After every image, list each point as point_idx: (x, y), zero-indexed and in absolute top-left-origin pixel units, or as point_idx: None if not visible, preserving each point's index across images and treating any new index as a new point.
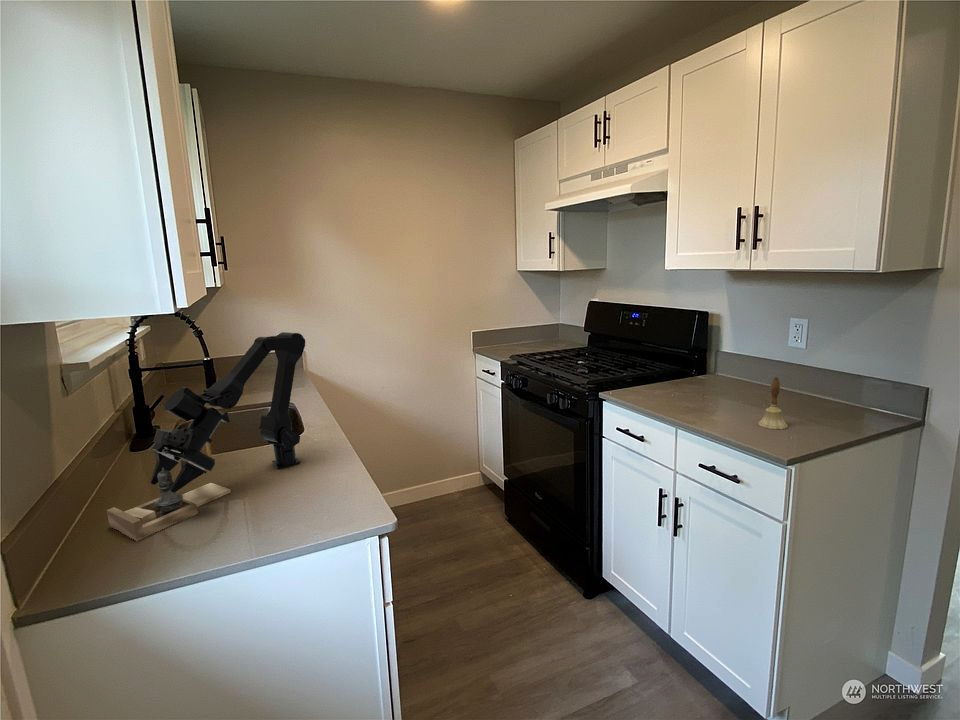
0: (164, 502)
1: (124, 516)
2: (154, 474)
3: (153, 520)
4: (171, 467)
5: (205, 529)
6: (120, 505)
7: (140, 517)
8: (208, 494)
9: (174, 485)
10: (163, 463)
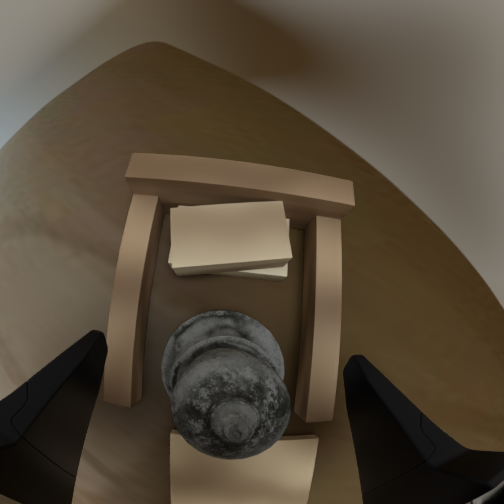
0: (196, 334)
1: (222, 168)
2: (380, 391)
3: (144, 243)
4: (368, 496)
5: (18, 314)
6: (436, 308)
7: (179, 209)
8: (209, 494)
9: (68, 349)
10: (407, 477)
